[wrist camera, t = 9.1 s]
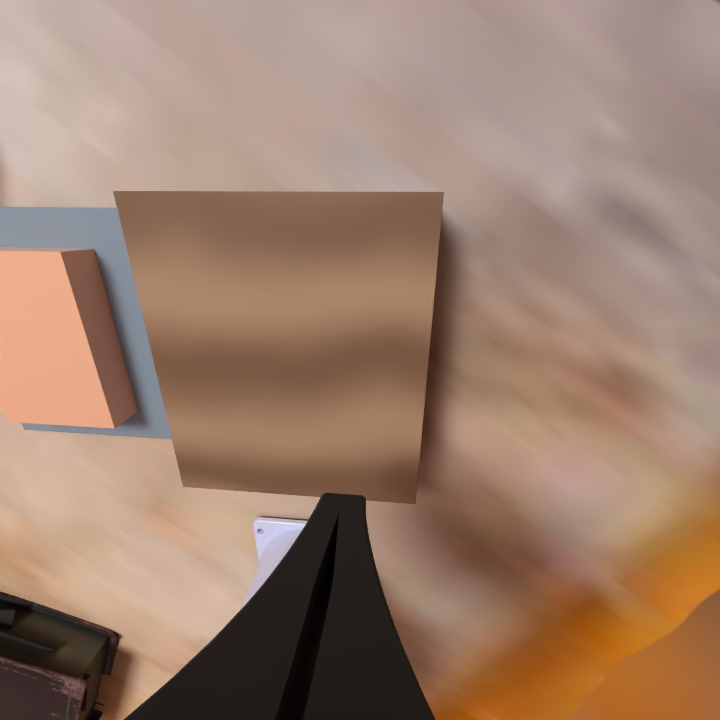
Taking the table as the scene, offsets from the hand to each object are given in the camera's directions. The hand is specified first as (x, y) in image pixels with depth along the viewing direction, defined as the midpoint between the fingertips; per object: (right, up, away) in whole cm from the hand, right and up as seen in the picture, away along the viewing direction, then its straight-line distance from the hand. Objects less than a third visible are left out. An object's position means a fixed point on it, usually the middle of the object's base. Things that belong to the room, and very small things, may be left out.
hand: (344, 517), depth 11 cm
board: (-3, +6, +8) cm, 11 cm away
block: (-17, +6, +7) cm, 20 cm away
